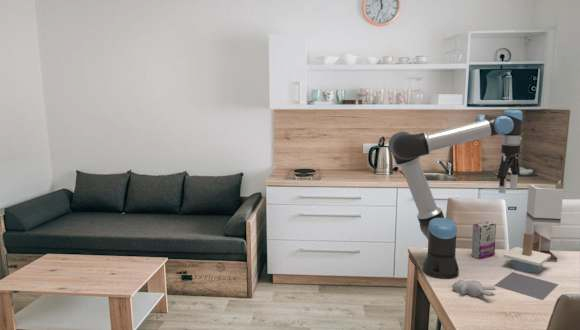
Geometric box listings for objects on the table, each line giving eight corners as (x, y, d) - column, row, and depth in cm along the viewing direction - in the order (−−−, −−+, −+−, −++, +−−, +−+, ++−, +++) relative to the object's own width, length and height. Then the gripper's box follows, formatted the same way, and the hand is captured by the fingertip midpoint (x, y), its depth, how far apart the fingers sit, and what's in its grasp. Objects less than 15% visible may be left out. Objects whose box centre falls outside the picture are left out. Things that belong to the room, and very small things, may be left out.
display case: (530, 260, 205) (536, 188, 200) (523, 252, 215) (528, 184, 210) (556, 262, 203) (563, 189, 197) (548, 254, 213) (554, 185, 208)
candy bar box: (486, 252, 216) (488, 220, 214) (494, 255, 212) (496, 223, 210) (470, 256, 211) (472, 223, 209) (479, 259, 207) (481, 226, 204)
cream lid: (539, 266, 184) (541, 240, 182) (503, 257, 195) (504, 233, 193) (550, 257, 194) (552, 233, 192) (515, 249, 205) (517, 226, 203)
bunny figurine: (457, 276, 178) (496, 281, 169) (458, 288, 178) (496, 293, 169) (449, 283, 171) (489, 289, 161) (450, 296, 171) (490, 302, 162)
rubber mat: (542, 301, 163) (542, 300, 163) (493, 287, 176) (494, 285, 176) (558, 286, 177) (558, 284, 177) (512, 273, 190) (512, 272, 190)
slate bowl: (522, 274, 189) (523, 262, 188) (505, 264, 200) (506, 253, 200) (547, 273, 190) (548, 261, 189) (529, 263, 202) (530, 251, 201)
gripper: (509, 147, 183) (505, 196, 186) (529, 143, 200) (526, 187, 203) (491, 146, 188) (488, 193, 191) (512, 142, 205) (509, 185, 208)
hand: (507, 190), depth 197 cm, fingers open, 13 cm apart
